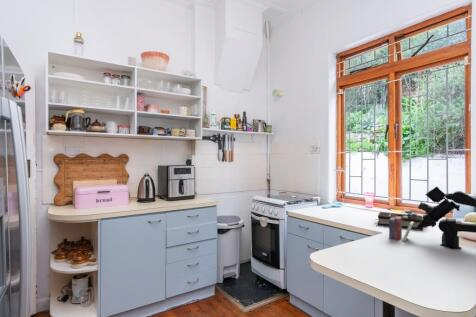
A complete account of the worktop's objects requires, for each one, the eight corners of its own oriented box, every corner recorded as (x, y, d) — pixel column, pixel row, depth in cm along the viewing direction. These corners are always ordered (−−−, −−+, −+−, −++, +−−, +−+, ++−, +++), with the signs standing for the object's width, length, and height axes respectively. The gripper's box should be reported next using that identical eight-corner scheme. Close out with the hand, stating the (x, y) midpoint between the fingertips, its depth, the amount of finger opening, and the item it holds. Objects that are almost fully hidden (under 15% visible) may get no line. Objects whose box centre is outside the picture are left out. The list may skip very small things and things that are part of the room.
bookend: (406, 237, 156) (413, 222, 154) (404, 241, 149) (412, 224, 147) (404, 236, 156) (411, 221, 154) (402, 240, 150) (409, 223, 148)
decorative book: (376, 210, 204) (425, 214, 188) (376, 220, 204) (425, 225, 188) (373, 214, 187) (427, 219, 172) (373, 225, 187) (427, 231, 172)
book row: (401, 237, 157) (401, 216, 157) (399, 241, 151) (399, 219, 151) (391, 236, 160) (391, 215, 160) (389, 239, 154) (389, 217, 154)
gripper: (429, 195, 153) (407, 213, 160) (427, 199, 139) (402, 219, 145) (447, 211, 148) (423, 229, 155) (447, 217, 134) (420, 236, 140)
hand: (417, 228), depth 149 cm, fingers closed
